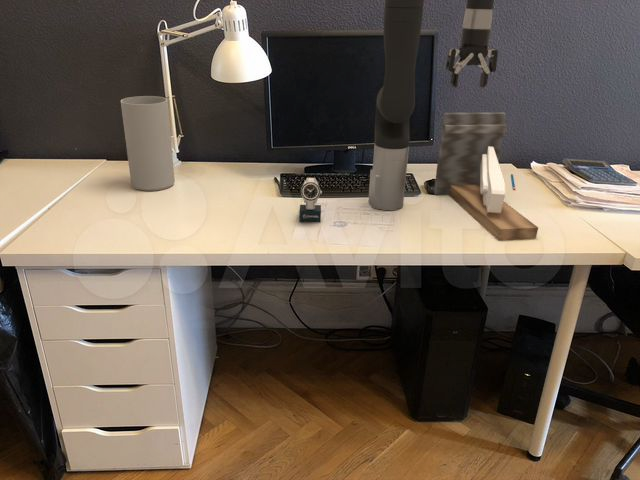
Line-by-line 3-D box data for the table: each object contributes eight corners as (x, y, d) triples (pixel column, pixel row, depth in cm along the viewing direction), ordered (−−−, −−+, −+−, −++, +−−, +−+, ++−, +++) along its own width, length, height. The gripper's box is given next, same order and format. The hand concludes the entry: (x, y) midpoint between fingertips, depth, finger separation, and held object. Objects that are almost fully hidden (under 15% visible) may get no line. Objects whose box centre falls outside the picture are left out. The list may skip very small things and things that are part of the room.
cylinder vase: (122, 188, 158) (110, 101, 147) (149, 175, 168) (139, 94, 158) (158, 194, 154) (148, 106, 143) (183, 181, 164) (176, 98, 154)
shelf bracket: (492, 185, 160) (500, 147, 152) (500, 234, 140) (510, 193, 133) (473, 183, 161) (480, 145, 153) (478, 232, 141) (487, 191, 133)
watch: (299, 225, 137) (299, 184, 132) (300, 213, 144) (300, 173, 139) (321, 225, 137) (322, 184, 132) (320, 213, 144) (322, 174, 139)
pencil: (512, 190, 166) (513, 188, 166) (510, 174, 181) (510, 172, 181) (515, 191, 166) (515, 189, 165) (512, 174, 181) (513, 172, 180)
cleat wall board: (483, 241, 131) (499, 144, 121) (433, 193, 161) (443, 112, 151) (550, 237, 134) (572, 143, 124) (489, 191, 164) (503, 112, 154)
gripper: (457, 27, 144) (449, 89, 151) (507, 28, 146) (497, 89, 153) (447, 25, 150) (440, 84, 157) (494, 26, 153) (485, 84, 160)
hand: (468, 86), depth 155 cm, fingers open, 8 cm apart
